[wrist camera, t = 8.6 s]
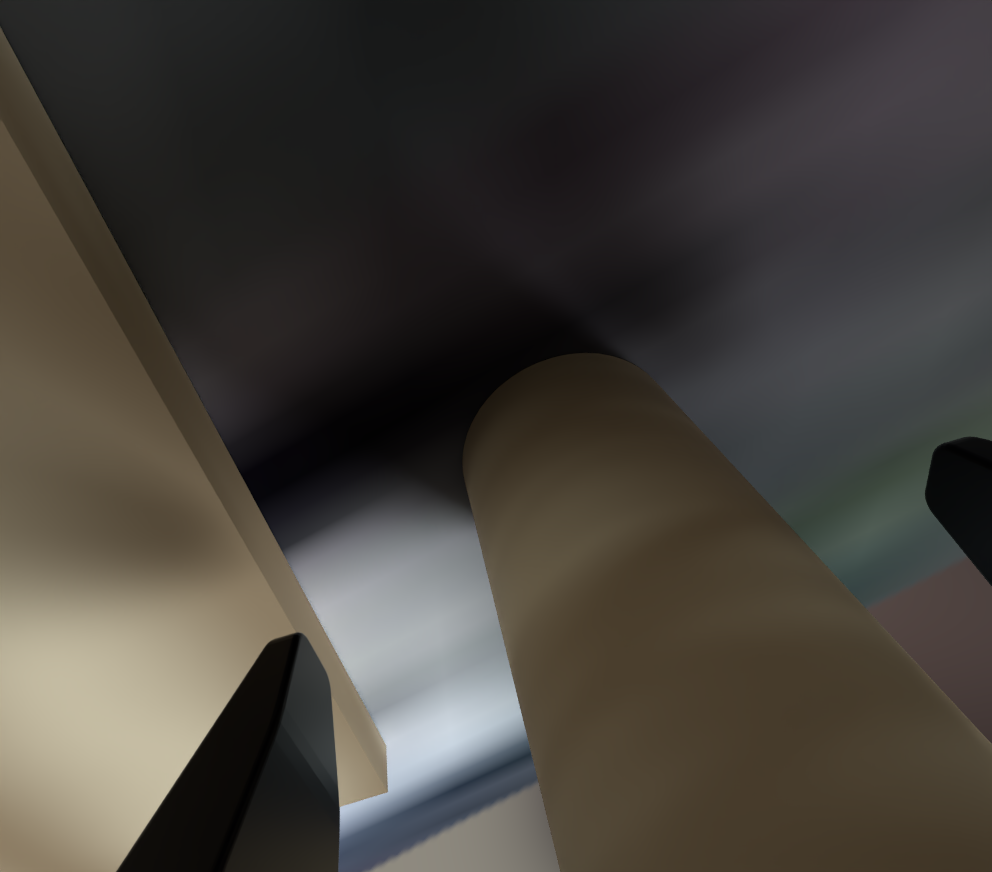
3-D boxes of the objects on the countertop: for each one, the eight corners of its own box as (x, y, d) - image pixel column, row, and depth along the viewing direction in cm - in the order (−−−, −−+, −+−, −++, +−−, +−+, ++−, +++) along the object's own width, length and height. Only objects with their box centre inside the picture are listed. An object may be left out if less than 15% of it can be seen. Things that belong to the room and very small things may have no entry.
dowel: (666, 325, 9) (1424, 975, 3) (678, 506, 11) (1142, 1154, 5) (437, 389, 9) (636, 1250, 3) (488, 561, 11) (679, 1314, 4)
